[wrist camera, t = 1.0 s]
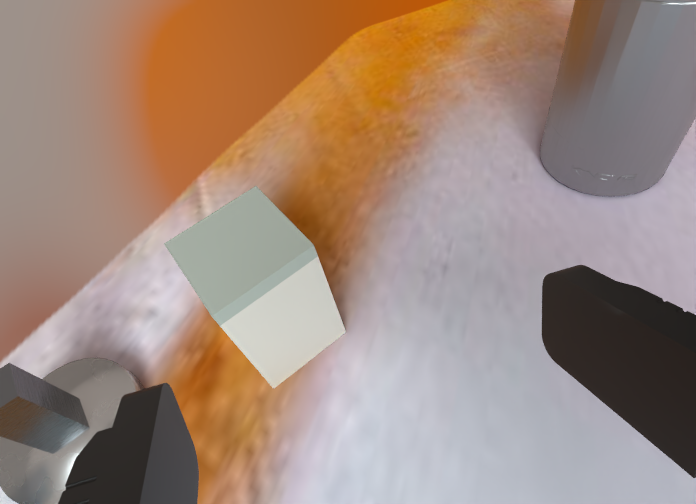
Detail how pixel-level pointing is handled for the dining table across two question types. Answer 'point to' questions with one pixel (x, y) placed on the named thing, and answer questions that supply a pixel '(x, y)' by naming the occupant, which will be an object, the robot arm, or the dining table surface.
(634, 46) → the robot arm
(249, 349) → the pale green block
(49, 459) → the grey post on dish
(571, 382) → the dining table surface
